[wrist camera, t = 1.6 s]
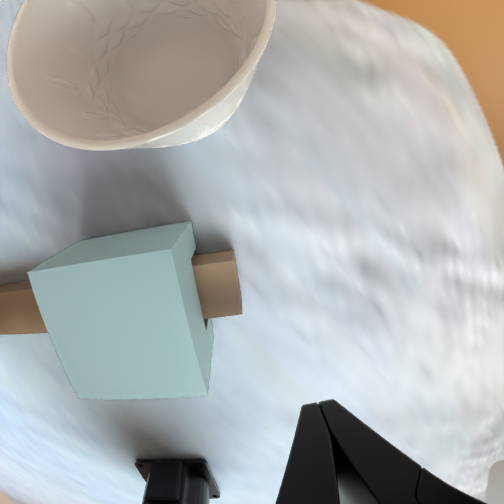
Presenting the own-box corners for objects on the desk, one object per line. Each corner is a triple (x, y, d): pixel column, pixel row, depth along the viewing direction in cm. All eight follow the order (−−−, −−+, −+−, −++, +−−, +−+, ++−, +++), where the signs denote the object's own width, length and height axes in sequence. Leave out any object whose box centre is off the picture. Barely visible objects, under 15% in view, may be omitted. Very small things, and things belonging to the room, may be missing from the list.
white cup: (94, 132, 16) (-26, 118, 6) (147, 11, 14) (84, -87, 4) (222, 175, 17) (203, 193, 7) (276, 48, 15) (317, -55, 6)
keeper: (213, 334, 19) (207, 395, 14) (110, 344, 19) (78, 398, 14) (191, 220, 17) (171, 248, 12) (79, 240, 17) (27, 272, 12)
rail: (245, 321, 19) (250, 397, 13) (-18, 339, 19) (-64, 383, 12) (229, 223, 18) (225, 262, 11) (-42, 273, 18) (-98, 306, 11)
